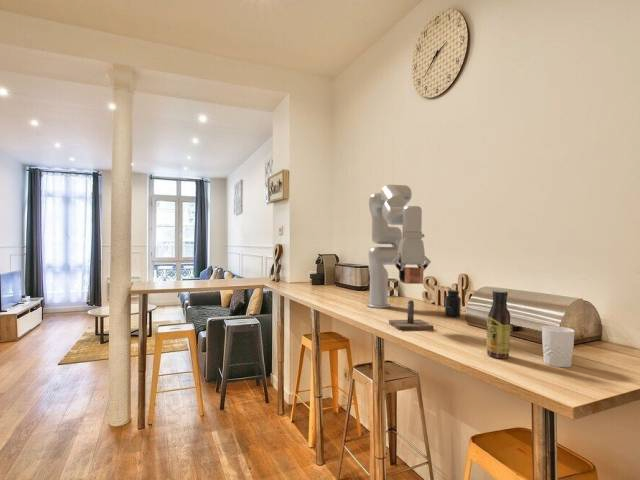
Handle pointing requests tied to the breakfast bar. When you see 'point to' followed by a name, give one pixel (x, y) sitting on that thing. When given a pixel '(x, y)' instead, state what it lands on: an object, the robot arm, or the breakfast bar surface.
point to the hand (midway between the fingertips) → (411, 280)
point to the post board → (409, 326)
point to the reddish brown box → (413, 275)
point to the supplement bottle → (453, 304)
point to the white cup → (557, 345)
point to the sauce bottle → (498, 326)
